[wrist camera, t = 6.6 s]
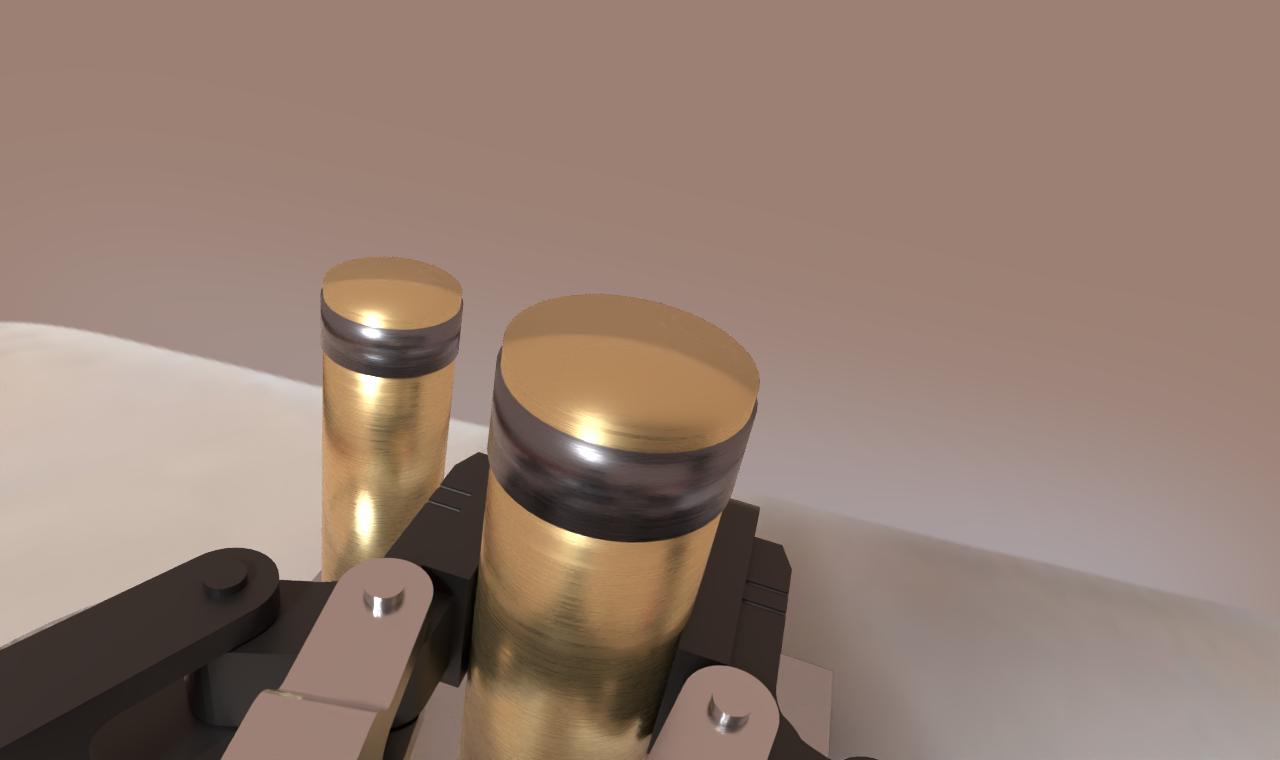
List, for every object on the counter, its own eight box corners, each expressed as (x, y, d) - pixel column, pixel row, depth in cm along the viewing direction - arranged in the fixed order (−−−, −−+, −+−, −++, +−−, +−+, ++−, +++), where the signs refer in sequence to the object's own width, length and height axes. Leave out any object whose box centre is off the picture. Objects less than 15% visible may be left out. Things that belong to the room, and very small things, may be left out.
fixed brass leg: (448, 603, 25) (485, 279, 20) (398, 681, 23) (426, 332, 17) (355, 571, 26) (367, 244, 20) (296, 644, 23) (290, 291, 18)
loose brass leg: (630, 818, 16) (777, 333, 11) (584, 989, 14) (745, 466, 8) (484, 766, 17) (551, 272, 11) (411, 923, 14) (451, 379, 9)
